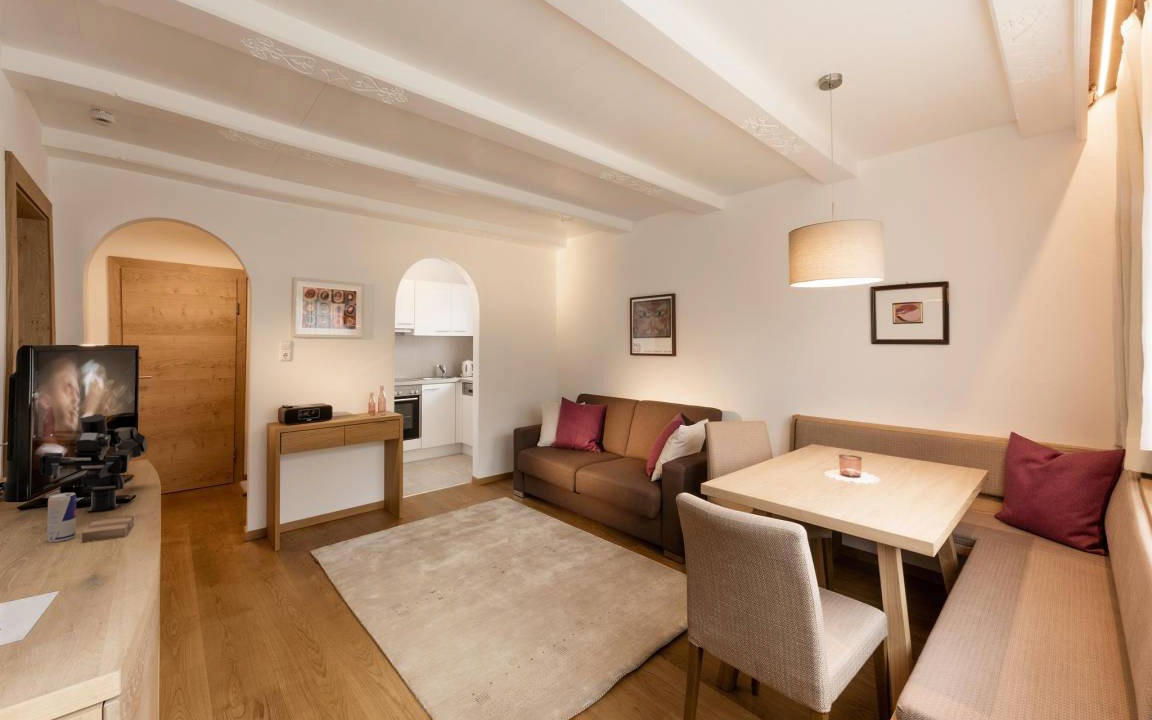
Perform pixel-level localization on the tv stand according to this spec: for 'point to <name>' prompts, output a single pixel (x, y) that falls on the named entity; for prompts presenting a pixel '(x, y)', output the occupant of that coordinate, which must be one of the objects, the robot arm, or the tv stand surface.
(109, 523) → the walnut stand
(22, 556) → the tv stand surface
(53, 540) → the energy drink
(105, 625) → the tv stand surface
